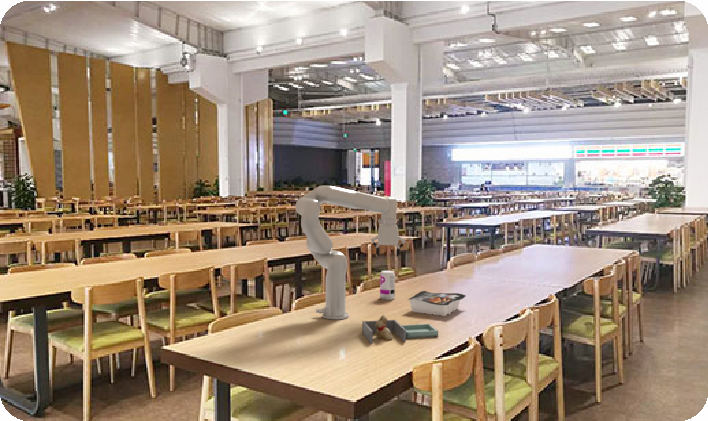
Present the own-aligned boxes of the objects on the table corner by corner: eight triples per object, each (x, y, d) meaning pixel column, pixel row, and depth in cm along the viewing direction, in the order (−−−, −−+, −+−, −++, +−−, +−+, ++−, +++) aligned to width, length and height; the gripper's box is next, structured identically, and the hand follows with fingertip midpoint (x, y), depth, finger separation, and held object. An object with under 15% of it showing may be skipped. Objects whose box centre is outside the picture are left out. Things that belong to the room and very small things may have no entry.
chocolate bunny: (386, 334, 238) (386, 311, 238) (393, 339, 231) (394, 315, 231) (374, 336, 236) (374, 312, 236) (381, 341, 229) (381, 316, 229)
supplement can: (382, 300, 305) (382, 273, 304) (378, 297, 313) (378, 270, 312) (396, 299, 307) (397, 272, 307) (391, 296, 315) (392, 270, 315)
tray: (407, 338, 233) (407, 332, 233) (399, 330, 244) (399, 325, 244) (438, 336, 236) (438, 330, 235) (429, 329, 247) (429, 323, 247)
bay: (370, 343, 225) (370, 331, 225) (362, 332, 241) (362, 321, 241) (405, 341, 228) (405, 329, 228) (395, 331, 244) (395, 319, 244)
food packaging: (447, 303, 265) (404, 298, 277) (447, 319, 266) (404, 313, 278) (466, 294, 287) (425, 289, 299) (465, 308, 287) (425, 303, 299)
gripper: (370, 222, 278) (369, 256, 279) (405, 223, 275) (404, 257, 276) (372, 221, 286) (371, 254, 286) (406, 222, 283) (405, 256, 283)
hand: (387, 256), depth 281 cm, fingers open, 9 cm apart
